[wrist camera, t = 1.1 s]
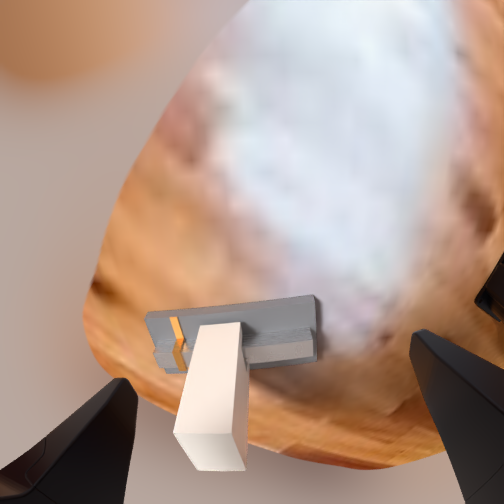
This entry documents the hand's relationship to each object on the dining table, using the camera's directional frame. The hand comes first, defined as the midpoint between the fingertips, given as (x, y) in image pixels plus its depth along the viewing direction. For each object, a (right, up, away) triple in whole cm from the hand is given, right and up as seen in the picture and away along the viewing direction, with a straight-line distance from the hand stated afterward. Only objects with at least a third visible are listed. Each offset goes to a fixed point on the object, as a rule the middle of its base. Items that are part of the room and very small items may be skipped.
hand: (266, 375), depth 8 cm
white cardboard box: (-2, -4, +14) cm, 15 cm away
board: (-2, -3, +15) cm, 16 cm away
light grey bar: (-2, -3, +15) cm, 16 cm away
